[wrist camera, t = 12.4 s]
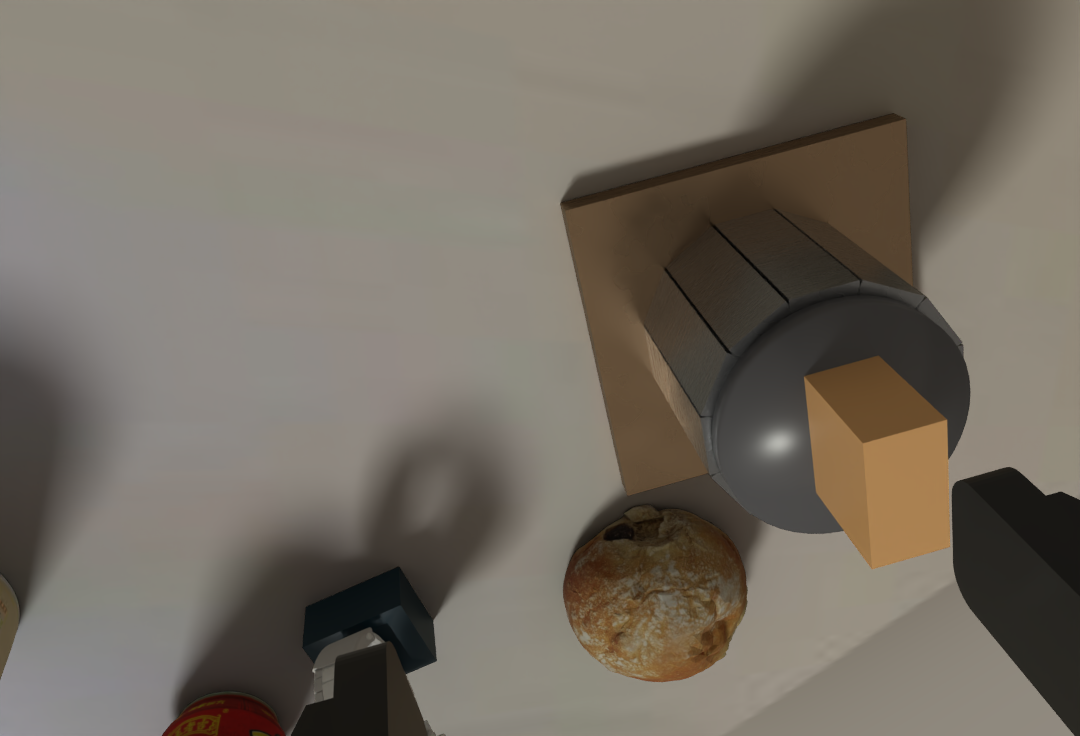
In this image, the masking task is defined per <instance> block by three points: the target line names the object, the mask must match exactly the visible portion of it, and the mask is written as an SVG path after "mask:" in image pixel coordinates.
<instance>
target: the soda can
mask: <svg viewBox="0 0 1080 736" xmlns="http://www.w3.org/2000/svg"><path fill="white" fill-rule="evenodd" d="M162 736H286V735H285V733H284V731H283V730H282V728H281V727H280V726H279V721H278V718H277V716H276V714H275V712H274V710H273V709H272V708H271V707H270V706H269V705H268V704H267V703H265V702H264V701H262V700H261V699H259V698H257V697H255V696H253V695H249V694H246V693H242V692H230V691H226V692H219V693H211V694H208V695H206V696H203V697H200V698H198V699H197V700H195V701H194V702H192V703H190V704H189V705H188V706H187V707H186V708H185V709H184V710H183V711H182V712H181V713H180V715H179V718H177V719H176V720H175V721H174V722H172V723H171V725H170V726H169V727H168V728H167V729H166V731H165V732H164V733H163V735H162Z"/></svg>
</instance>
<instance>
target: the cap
mask: <svg viewBox="0 0 1080 736" xmlns="http://www.w3.org/2000/svg"><path fill="white" fill-rule="evenodd" d="M969 405H970V381H969V375H968V371H967V366H966V363H965V361H964V358H963V356H962V354H961V351H960V350H959V348H958V347H957V345H956V344H955V342H954V341H953V339H952V338H951V337H950V336H949V335H948V334H947V333H946V332H945V331H944V330H943V329H942V328H941V327H940V326H938V325H937V324H936V323H935V322H933V321H932V320H931V319H930V318H928V317H927V316H926V315H924V314H923V313H922V312H920V311H919V310H917V309H915V308H913V307H911V306H910V305H908V304H906V303H903V302H900V301H897V300H894V299H891V298H885V297H880V296H869V295H855V296H844V297H838V298H834V299H829V300H825V301H822V302H819V303H816V304H813V305H810V306H808V307H805V308H803V309H801V310H799V311H797V312H795V313H793V314H791V315H789V316H788V317H786V318H784V319H783V320H781V321H779V322H778V323H776V324H775V325H774V326H772V327H771V328H770V329H768V330H767V331H766V332H765V333H763V334H762V335H761V336H760V337H759V338H758V339H757V340H756V341H755V342H754V343H753V344H752V345H751V346H749V348H748V349H747V350H746V351H745V352H744V354H743V355H742V356H741V357H740V358H739V360H738V361H737V362H736V364H735V366H734V367H733V369H732V370H731V372H730V373H729V375H728V377H727V379H726V381H725V383H724V385H723V387H722V389H721V391H720V394H719V397H718V400H717V403H716V406H715V411H714V416H713V423H712V443H713V451H714V455H715V459H716V462H717V465H718V467H719V469H720V472H721V474H722V476H723V477H724V479H725V481H726V482H727V484H728V486H729V487H730V489H731V491H732V492H733V494H734V495H735V497H736V498H737V500H738V501H739V502H740V503H741V504H742V505H743V506H744V507H745V509H747V510H748V511H749V512H750V513H752V514H753V515H754V516H755V517H757V518H759V519H761V520H762V521H764V522H766V523H767V524H770V525H772V526H775V527H778V528H780V529H784V530H788V531H792V532H799V533H808V534H824V533H832V532H840V531H844V532H845V533H846V534H847V536H848V537H849V538H850V540H851V541H852V543H853V544H854V545H855V547H856V548H857V549H858V551H859V552H860V554H861V555H862V556H863V558H864V559H865V560H866V562H867V563H868V564H869V566H870V567H871V569H875V568H878V567H882V566H885V565H889V564H892V563H896V562H899V561H903V560H906V559H910V558H913V557H916V556H920V555H923V554H927V553H930V552H934V551H937V550H941V549H944V548H948V547H950V524H949V479H948V459H949V458H950V456H951V455H952V453H953V451H954V450H955V448H956V446H957V444H958V442H959V439H960V437H961V435H962V432H963V429H964V426H965V424H966V420H967V416H968V411H969Z"/></svg>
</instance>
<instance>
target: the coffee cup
mask: <svg viewBox="0 0 1080 736" xmlns="http://www.w3.org/2000/svg"><path fill="white" fill-rule="evenodd" d="M19 616H20V611H19V604H18V600H17V597H16V595H15V592H14V590H13V589H12V587H11V586H10V584H9V583H8V581H7V580H6V579H5V578H4V577H3V576H2V575H1V574H0V679H1V676H2V673H3V670H4V667H5V665H6V662H7V659H8V656H9V653H10V650H11V647H12V644H13V641H14V638H15V635H16V632H17V629H18V624H19Z"/></svg>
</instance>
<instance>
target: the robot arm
mask: <svg viewBox="0 0 1080 736" xmlns="http://www.w3.org/2000/svg"><path fill="white" fill-rule="evenodd" d="M952 530H953V567H954V573H955V577H956V580H957V583H958V586H959V588H960V591H961V593H962V596H963V598H964V599H965V601H966V603H967V604H968V606H969V607H970V609H971V610H972V612H973V613H974V614H975V615H976V616H977V618H978V619H979V620H980V621H981V623H982V624H983V625H984V626H985V627H986V629H987V630H988V631H989V632H990V633H991V635H992V636H993V637H994V638H995V639H996V641H997V642H998V643H999V644H1000V646H1001V647H1002V648H1003V649H1004V650H1005V652H1006V653H1007V654H1008V655H1009V657H1010V658H1011V659H1012V660H1013V661H1014V663H1015V664H1016V665H1017V666H1018V667H1019V669H1020V670H1021V671H1022V672H1023V673H1024V675H1025V676H1026V677H1027V678H1028V680H1030V682H1031V683H1032V684H1033V686H1034V687H1035V688H1036V689H1037V690H1038V692H1039V693H1040V694H1041V695H1042V697H1043V698H1044V699H1045V700H1046V701H1047V703H1048V704H1049V705H1050V706H1051V707H1052V709H1053V710H1054V711H1055V712H1056V714H1057V715H1058V716H1059V717H1060V718H1061V720H1062V721H1063V722H1064V723H1065V724H1066V726H1067V727H1068V728H1069V729H1070V730H1071V732H1072V733H1073V734H1074V735H1075V736H1080V500H1079V499H1077V498H1074V497H1072V496H1070V495H1068V494H1065V493H1063V492H1058V493H1054V494H1051V495H1047V496H1045V495H1044V494H1043V493H1042V492H1041V491H1040V490H1039V489H1038V488H1037V487H1036V486H1034V485H1033V484H1032V483H1031V482H1030V481H1029V480H1028V479H1027V478H1026V477H1025V476H1023V475H1022V474H1021V473H1020V472H1019V471H1018V470H1016V469H1014V468H1011V467H1006V468H1002V469H999V470H995V471H992V472H988V473H985V474H981V475H977V476H974V477H970V478H967V479H963V480H960V481H957V482H956V483H955V484H954V486H953V489H952ZM291 736H428V734H427V731H426V727H425V723H424V720H423V717H422V715H421V712H420V710H419V707H418V705H417V702H416V700H415V697H414V695H413V692H412V690H411V687H410V685H409V682H408V680H407V677H406V675H405V672H404V670H403V667H402V665H401V662H400V660H399V657H398V655H397V652H396V650H395V648H394V646H393V644H392V643H391V642H390V641H387V642H384V643H380V644H377V645H373V646H370V647H366V648H363V649H359V650H356V651H352V652H349V653H345V654H342V655H338V656H337V657H336V660H335V667H334V690H333V698H331V699H327V700H324V701H320V702H317V703H313V704H310V705H306V707H305V709H304V711H303V713H302V715H301V717H300V718H299V720H298V722H297V724H296V726H295V728H294V730H293V732H292V734H291Z"/></svg>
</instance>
